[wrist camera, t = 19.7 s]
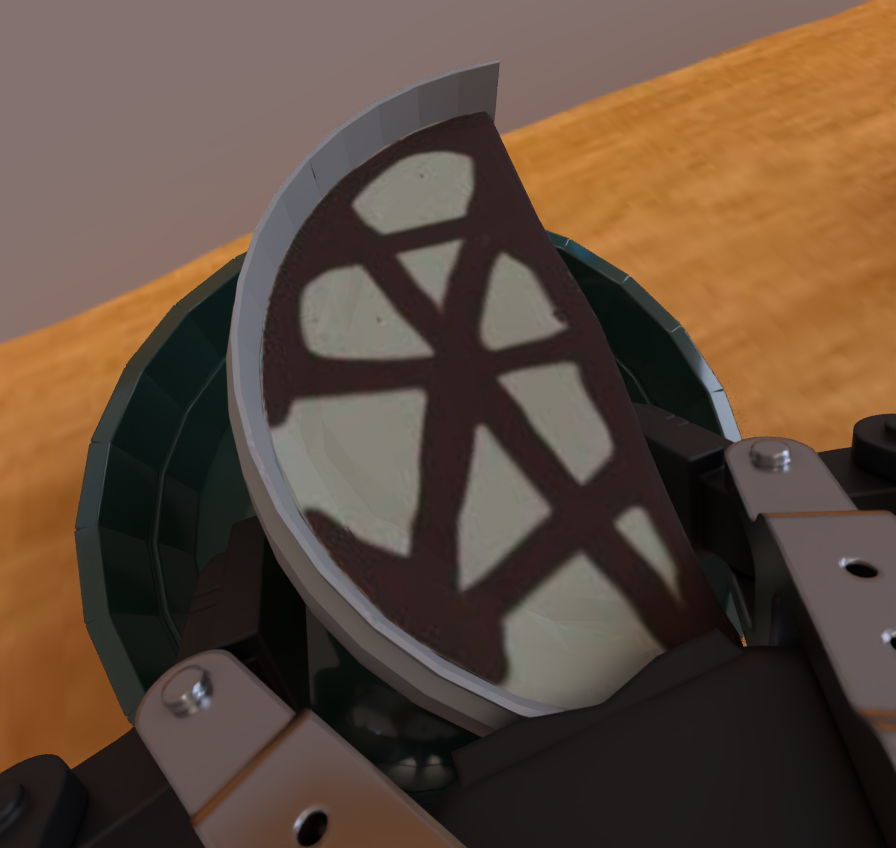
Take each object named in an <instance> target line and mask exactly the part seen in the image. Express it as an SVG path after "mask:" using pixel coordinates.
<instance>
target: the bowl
mask: <svg viewBox="0 0 896 848" xmlns="http://www.w3.org/2000/svg"><path fill="white" fill-rule="evenodd" d="M545 231H546V232H547V234H548V236H549V238H550V239H551V241H552V243H553V245H554V246H555V248H556V250H557V251H558V253H559V254H560V256H561V258H562V259H563V261H564V262H565V264H566V266H567V267H568V269H569V270H570V272H571V273H572V275H573V277H574V278H575V280H576V281H577V283H578V285H579V287H580V288H581V290H582V292H583V294H584V295H585V297H586V299H587V301H588V303H589V304H590V306H591V308H592V310H593V311H594V313H595V315H596V317H597V318H598V320H599V322H600V324H601V326H602V329H603V331H604V333H605V336H606V339H607V341H608V344H609V346H610V349H611V351H612V354H613V356H614V359H615V361H616V363H617V366H618V368H619V371H620V373H621V376H622V378H623V381H624V383H625V386H626V389H627V391H628V394H629V397H630V399H631V402H633V403H640V404H646V405H651V406H657V407H660V408H662V409H664V410H666V411H668V412H670V413H673V414H675V416H676V417H677V416H679V417H681V418H683V419H685V420H688V421H689V423H694V424H696V425H698V426H701V427H703V428H705V429H707V430H709V431H711V432H713V433H716V434H718V435H720V436H722V437H724V438H726V439H729V440H731V441H733V442H737V441H740V440H742V437H741V434H740V432H739V429H738V426H737V423H736V420H735V418H734V415H733V412H732V409H731V406H730V404H729V401H728V398H727V395H726V392H725V391H724V390H723V387H722V385H721V383H720V382H719V380H718V379H717V377H716V376H715V374H714V373H713V371H712V370H711V368H710V367H709V365H708V364H707V362H706V361H705V359H704V358H703V356H702V355H701V353H700V352H699V350H698V349H697V347H696V345H695V344H694V342H693V341H692V339H691V338H690V336H689V335H688V333H687V332H686V330H685V329H684V328H683V327H682V325H681V324H680V323H679V322H678V321H677V320H676V319H675V318H674V317H673V316H672V315H671V314H670V313H669V312H668V311H666V310H665V309H664V308H663V307H662V306H661V305H660V304H659V303H658V302H657V301H656V300H655V299H654V298H653V297H652V296H651V295H650V294H649V293H648V292H647V291H646V290H645V289H644V288H642V287H641V286H640V285H639V284H638V283H637V282H636V281H635V280H634V279H633V278H632V277H629V275H628V274H626V273H625V272H623V271H622V270H620V269H618V268H617V267H615V266H613V265H612V264H610V263H609V262H607V261H605V260H604V259H602V258H600V257H599V256H597V255H596V254H594V253H592V252H591V251H589V250H587V249H586V248H584V247H583V246H581V245H579V244H578V243H576V242H574V241H573V240H569V238H566V237H564V236H561V235H558V234H555V233H553V232H550V231H547V230H545ZM246 254H247V252H245V253H243V254H241V255H239V256H237V257H236V258H235V259H232V260H231V261H230V262H228V263H227V264H226V265H224V266H223V267H222V268H221V269H219V270H218V271H217V272H216V273H214V274H213V275H212V276H210V277H209V278H208V279H207V280H205V281H204V282H203V283H202V284H200V285H199V286H198V287H197V288H195V289H194V290H193V291H191V292H190V293H189V294H188V295H186V296H185V297H184V298H183V299H181V300H180V301H179V302H177V303H176V305H174V306H173V307H172V308H171V310H170V311H169V312H168V313H167V315H166V316H165V317H164V318H163V320H162V321H161V322H160V323H159V324H158V326H157V327H156V328H155V329H154V331H153V332H152V333H151V334H150V336H149V337H148V338H147V339H146V341H145V342H144V343H143V344H142V346H141V347H140V348H139V349H138V351H137V352H136V353H135V354H134V356H133V357H132V358H131V359H130V360H129V362H128V363H127V364H126V367H125V368H124V370H123V372H122V374H121V376H120V378H119V381H118V383H117V385H116V387H115V389H114V391H113V393H112V396H111V398H110V400H109V402H108V404H107V406H106V409H105V411H104V413H103V415H102V417H101V419H100V421H99V424H98V426H97V428H96V430H95V432H94V434H93V437H92V439H91V442H92V443H90V444H89V450H88V455H87V461H86V467H85V473H84V478H83V484H82V490H81V496H80V501H79V507H78V513H77V518H76V524H75V529H76V531H75V541H76V550H77V559H78V568H79V577H80V586H81V595H82V604H83V613H84V622H85V624H87V625H86V628H87V630H88V633H89V635H90V637H91V640H92V642H93V644H94V646H95V649H96V651H97V653H98V655H99V658H100V660H101V662H102V665H103V667H104V669H105V671H106V674H107V676H108V678H109V681H110V683H111V685H112V687H113V690H114V692H115V694H116V696H117V699H118V701H119V703H120V706H121V708H122V710H123V712H124V715H125V716H128V718H127V719H128V721H129V722H130V723H131V724H132V725H133V726H135V716H136V712H137V709H138V706H139V704H140V702H141V700H142V699H143V697H144V696H145V694H146V693H147V691H148V690H149V689H150V688H151V686H152V685H153V684H154V683H155V682H156V681H157V680H158V679H159V678H160V677H161V676H162V675H163V674H164V673H166V672H167V671H168V670H169V669H170V668H172V667H173V666H175V663H176V659H177V655H178V651H179V647H180V643H181V640H182V636H183V632H184V628H185V624H186V620H187V617H188V614H190V611H189V609H190V605H191V601H192V598H194V595H193V594H194V590H195V586H196V582H197V578H198V575H199V574H200V573H201V571H202V570H203V569H204V567H205V566H206V565H207V563H208V562H209V561H210V559H211V558H212V557H213V556H214V555H217V554H220V553H223V552H226V551H227V548H228V542H229V537H230V532H231V527H232V524H234V523H237V522H239V521H242V520H245V519H248V518H251V517H254V516H256V515H257V514H256V512H255V510H254V507H253V504H252V501H251V498H250V495H249V491H248V488H247V485H246V482H245V479H244V476H243V473H242V468H241V464H240V460H239V456H238V451H237V447H236V443H235V439H234V435H233V430H232V426H231V422H230V418H229V409H228V388H227V367H226V356H227V348H228V341H229V334H230V327H231V320H232V312H233V306H234V303H235V297H236V289H237V282H238V278H239V275H240V272H241V269H242V266H243V263H244V260H245V257H246ZM699 564H700V566H701V568H702V570H703V572H704V574H705V576H706V578H707V580H708V582H709V584H710V586H711V588H712V590H713V592H714V593H715V595H716V597H717V599H718V601H719V603H720V605H721V607H722V609H723V610H724V612H725V613H726V615H727V616H728V618H729V619H730V621H731V622H732V624H733V625H734V627H735V629H736V630H737V632H738V633H739V636H740V639H742V638H743V631H742V627H741V624H740V621H739V617H738V614H737V611H736V607H735V604H734V601H733V598H732V594H731V591H730V588H729V584H728V581H727V578H726V573H725V561H724V560H722V559H721V558H719V557H718V556H717V555H715V556H713V557H710V558H708V559H706V560H703V561H701V562H699ZM306 622H307V643H308V663H309V683H310V703H311V711H313V712H314V713H315V714H316V715H317V716H319V717H320V718H321V719H322V720H323V721H324V722H325V723H327V724H328V725H329V726H330V727H331V728H332V729H333V730H334V731H336V732H337V733H338V734H339V735H340V736H341V737H342V738H344V739H345V740H346V741H347V742H348V743H349V744H350V745H351V746H353V747H354V748H355V749H356V750H357V751H358V752H359V753H361V754H362V755H363V756H364V757H365V758H366V759H367V760H368V761H370V762H371V763H372V764H373V765H374V766H375V767H376V768H378V769H379V770H380V771H381V772H382V773H383V774H384V775H385V776H387V777H388V778H389V779H390V780H391V781H392V782H393V783H395V784H396V785H397V786H398V787H399V788H400V789H401V790H402V791H404V792H405V793H406V794H407V795H408V796H409V797H410V798H412V799H413V800H414V801H415V802H416V803H417V804H418V805H419V806H421V807H422V808H423V809H424V810H425V811H426V812H427V810H428V809H429V808H430V806H431V805H432V804H433V803H434V802H435V801H436V800H437V799H438V798H439V796H440V795H441V794H442V793H443V792H444V791H445V790H446V789H447V788H448V787H449V786H451V785H452V784H453V783H454V782H455V781H456V780H457V779H459V777H458V774H457V771H456V767H455V764H454V761H453V758H452V755H451V752H453V751H455V750H457V749H459V748H461V747H463V746H465V745H468V744H470V743H472V742H474V741H476V740H478V739H480V738H483V737H480V736H478V735H476V734H474V733H472V732H470V731H468V730H466V729H464V728H462V727H460V726H458V725H456V724H454V723H452V722H450V721H448V720H446V719H444V718H442V717H440V716H438V715H436V714H434V713H432V712H430V711H428V710H426V709H424V708H422V707H420V706H418V705H416V704H415V703H413V702H412V701H411V700H409V699H408V698H407V697H405V696H404V695H403V694H401V693H400V692H398V691H397V690H396V689H394V688H393V687H392V686H390V685H389V684H387V683H386V682H385V681H383V680H382V679H381V678H379V677H378V676H377V675H375V674H374V673H372V672H371V671H370V670H368V669H367V668H366V667H364V666H363V665H362V664H360V663H359V662H358V661H357V660H356V659H355V658H354V657H353V656H352V655H351V653H350V652H349V651H348V650H347V649H346V648H345V647H344V646H343V645H342V644H341V643H340V642H339V641H338V640H337V639H336V638H335V637H334V636H333V635H332V634H331V633H330V632H329V631H328V630H327V629H326V628H325V627H324V625H323V624H322V623H321V622H320V621H319V620H318V619H317V618H316V617H315V616H314V615H313V614H312V612H311V611H310V609H309V608H308V606H307V605H306Z"/></svg>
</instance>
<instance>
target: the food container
mask: <svg viewBox="0 0 896 848" xmlns="http://www.w3.org/2000/svg"><path fill="white" fill-rule="evenodd" d="M499 63H500V62H499V61H498V60H495V61H490V62H486V63H480V64H476V65H471V66H465V67H460V68H456V69H453V70H450V71H447V72H445V73H441V74H438V75H435V76H432V77H429V78H426V79H423V80H421V81H417V82H415V83H413V84H410V85H408V86H406V87H404V88H402V89H401V90H398V91H396V92H394V93H392V94H390V95H388V96H386V97H383V98H381V99H379V100H377V101H375V102H374V103H372V104H371V105H369V106H368V107H366V108H365V109H363V110H362V111H360V112H359V113H357V114H356V115H354V116H353V117H351V118H350V119H348V120H347V121H345V122H344V123H342V124H341V125H339V126H338V127H337V128H336V129H334V130H333V131H332V132H331V133H330V134H329V135H328V136H327V137H326V138H325V139H323V140H322V141H321V142H320V143H319V144H318V145H317V146H316V147H314V148H313V149H312V150H311V151H310V152H309V153H308V154H307V155H306V156H305V157H304V158H303V159H302V161H301V162H300V163H299V164H298V165H297V167H296V168H295V169H294V170H293V172H292V173H291V174H290V175H289V177H288V178H287V179H286V180H285V182H284V183H283V184H282V185H281V187H280V188H279V189H278V190H277V192H276V193H275V195H274V197H273V199H272V201H271V202H270V204H269V206H268V208H267V210H266V212H265V213H264V215H263V217H262V219H261V221H260V222H259V224H258V226H257V228H256V230H255V232H254V233H253V236H252V239H251V242H250V245H249V248H248V251H247V254H246V257H245V260H244V263H243V266H242V269H241V272H240V275H239V278H238V282H237V289H236V297H235V303H234V306H233V312H232V320H231V327H230V334H229V341H228V348H227V356H226V367H227V388H228V409H229V418H230V422H231V426H232V430H233V435H234V439H235V443H236V447H237V451H238V456H239V460H240V464H241V468H242V473H243V476H244V479H245V482H246V485H247V488H248V491H249V495H250V498H251V501H252V504H253V507H254V510H255V512H256V514H257V516H258V519H259V521H260V523H261V525H262V528H263V530H264V532H265V534H266V537H267V539H268V541H269V543H270V546H271V548H272V550H273V552H274V555H275V557H276V559H277V561H278V563H279V565H280V566H281V568H282V569H283V571H284V572H285V574H286V575H287V577H288V578H289V580H290V581H291V583H292V584H293V585H294V587H295V588H296V590H297V591H298V593H299V594H300V596H301V597H302V599H303V600H304V602H305V603H306V605H307V606H308V608H309V609H310V611H311V612H312V614H313V615H314V616H315V617H316V618H317V619H318V620H319V621H320V622H321V623H322V624H323V625H324V627H325V628H326V629H327V630H328V631H329V632H330V633H331V634H332V635H333V636H334V637H335V638H336V639H337V640H338V641H339V642H340V643H341V644H342V645H343V646H344V647H345V648H346V649H347V650H348V651H349V652H350V653H351V655H352V656H353V657H354V658H355V659H356V660H357V661H358V662H359V663H360V664H362V665H363V666H364V667H366V668H367V669H368V670H370V671H371V672H372V673H374V674H375V675H377V676H378V677H379V678H381V679H382V680H383V681H385V682H386V683H387V684H389V685H390V686H392V687H393V688H394V689H396V690H397V691H398V692H400V693H401V694H403V695H404V696H405V697H407V698H408V699H409V700H411V701H412V702H413V703H415V704H416V705H418V706H420V707H422V708H424V709H426V710H428V711H430V712H432V713H434V714H436V715H438V716H440V717H442V718H444V719H446V720H448V721H450V722H452V723H454V724H456V725H458V726H460V727H462V728H464V729H466V730H468V731H470V732H472V733H474V734H476V735H478V736H480V737H485V736H487V735H489V734H491V733H493V732H495V731H498V730H500V729H502V728H504V727H506V726H508V725H510V724H512V723H515V722H517V721H519V720H521V719H526V718H531V717H536V716H542V715H547V714H552V713H558V712H563V711H568V710H573V709H579V708H584V707H589V706H594V705H598V704H601V703H603V702H605V701H606V700H607V699H609V698H610V697H611V696H612V695H613V694H614V693H615V692H617V691H618V690H619V689H620V688H621V687H622V686H623V685H625V684H626V683H627V682H628V681H629V680H630V679H631V678H633V677H634V676H635V675H636V674H637V673H638V672H639V671H640V670H642V669H643V668H644V667H645V666H646V665H647V664H648V663H650V662H651V661H652V660H653V659H654V658H655V657H656V656H658V655H660V654H662V653H665V652H667V651H669V650H671V649H673V648H675V647H677V646H680V645H682V644H684V643H686V642H688V641H690V640H692V639H695V638H697V637H699V636H701V635H703V634H705V633H707V632H709V631H712V630H714V629H716V628H718V629H719V630H720V631H721V632H722V633H723V634H724V635H725V636H726V637H728V638H729V639H730V640H731V641H732V642H733V643H734V644H735V645H736V646H737V647H738V648H739V647H743V644H742V641H741V639H740V636H739V633H738V632H737V630H736V629H735V627H734V625H733V624H732V622H731V621H730V619H729V618H728V616H727V615H726V613H725V612H724V610H723V609H722V607H721V605H720V603H719V601H718V599H717V597H716V595H715V593H714V592H713V590H712V588H711V586H710V584H709V582H708V580H707V578H706V576H705V574H704V572H703V570H702V568H701V566H700V564H699V562H698V559H697V557H696V555H695V553H694V551H693V548H692V546H691V544H690V542H689V540H688V537H687V535H686V533H685V531H684V529H683V526H682V524H681V522H680V520H679V518H678V515H677V513H676V511H675V509H674V507H673V504H672V502H671V500H670V498H669V496H668V493H667V491H666V489H665V486H664V484H663V481H662V479H661V476H660V474H659V472H658V469H657V467H656V464H655V462H654V459H653V457H652V455H651V452H650V450H649V447H648V445H647V442H646V440H645V437H644V434H643V432H642V429H641V426H640V424H639V421H638V418H637V416H636V413H635V410H634V407H633V405H632V402H631V399H630V397H629V394H628V391H627V389H626V386H625V383H624V381H623V378H622V376H621V373H620V371H619V368H618V366H617V363H616V361H615V359H614V356H613V354H612V351H611V349H610V346H609V344H608V341H607V339H606V336H605V333H604V331H603V329H602V326H601V324H600V322H599V320H598V318H597V317H596V315H595V313H594V311H593V310H592V308H591V306H590V304H589V303H588V301H587V299H586V297H585V295H584V294H583V292H582V290H581V288H580V287H579V285H578V283H577V281H576V280H575V278H574V277H573V275H572V273H571V272H570V270H569V269H568V267H567V266H566V264H565V262H564V261H563V259H562V258H561V256H560V254H559V253H558V251H557V250H556V248H555V246H554V245H553V243H552V241H551V239H550V238H549V236H548V234H547V232H546V231H545V229H544V227H543V225H542V224H541V222H540V220H539V218H538V216H537V214H536V212H535V210H534V208H533V206H532V204H531V201H530V199H529V197H528V195H527V193H526V191H525V189H524V187H523V185H522V182H521V180H520V178H519V176H518V174H517V172H516V170H515V168H514V166H513V163H512V161H511V159H510V157H509V155H508V153H507V151H506V149H505V146H504V144H503V142H502V140H501V138H500V136H499V133H498V131H497V129H496V127H495V125H494V119H495V107H496V96H497V86H498V75H499Z"/></svg>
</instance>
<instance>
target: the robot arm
mask: <svg viewBox="0 0 896 848" xmlns="http://www.w3.org/2000/svg"><path fill="white" fill-rule="evenodd" d="M632 405H633V407H634V410H635V413H636V416H637V418H638V421H639V424H640V426H641V429H642V432H643V434H644V437H645V440H646V442H647V445H648V447H649V450H650V452H651V455H652V457H653V459H654V462H655V464H656V467H657V469H658V472H659V474H660V476H661V479H662V481H663V484H664V486H665V489H666V491H667V493H668V496H669V498H670V500H671V502H672V504H673V507H674V509H675V511H676V513H677V515H678V518H679V520H680V522H681V524H682V526H683V529H684V531H685V533H686V535H687V537H688V540H689V542H690V544H691V546H692V548H693V551H694V553H695V555H696V557H697V559H698V562H701V561H703V560H706V559H708V558H710V557H713V556H715V555H717V556H718V557H719V558H721V559H722V560H724V561H725V573H726V578H727V581H728V584H729V588H730V591H731V594H732V598H733V601H734V604H735V607H736V611H737V614H738V617H739V621H740V624H741V627H742V631H743V634H744V637H745V640H746V644H747V647H739V648H738V647H737V646H736V645H735V644H734V643H733V642H732V641H731V640H730V639H729V638H728V637H726V636H725V635H724V634H723V633H722V632H721V631H720V630H719V629H718V628H716V629H714V630H712V631H709V632H707V633H705V634H703V635H701V636H699V637H697V638H695V639H692V640H690V641H688V642H686V643H684V644H682V645H680V646H677V647H675V648H673V649H671V650H669V651H667V652H665V653H662V654H660V655H658V656H656V657H655V658H654V659H653V660H652V661H651V662H650V663H648V664H647V665H646V666H645V667H644V668H643V669H642V670H640V671H639V672H638V673H637V674H636V675H635V676H634V677H633V678H631V679H630V680H629V681H628V682H627V683H626V684H625V685H623V686H622V687H621V688H620V689H619V690H618V691H617V692H615V693H614V694H613V695H612V696H611V697H610V698H609V699H607V700H606V701H605V702H603V703H601V704H598V705H594V706H589V707H584V708H579V709H573V710H568V711H563V712H558V713H552V714H547V715H542V716H536V717H531V718H526V719H521V720H519V721H517V722H515V723H512V724H510V725H508V726H506V727H504V728H502V729H500V730H498V731H495V732H493V733H491V734H489V735H487V736H485V737H483V738H480V739H478V740H476V741H474V742H472V743H470V744H468V745H465V746H463V747H461V748H459V749H457V750H455V751H453V752H451V755H452V758H453V761H454V764H455V767H456V771H457V774H458V777H459V779H457V780H456V781H455V782H454V783H453V784H452V785H451V786H449V787H448V788H447V789H446V790H445V791H444V792H443V793H442V794H441V795H440V796H439V798H438V799H437V800H436V801H435V802H434V803H433V804H432V805H431V806H430V808H429V809H428V810H427V812H426V811H425V810H424V809H423V808H422V807H421V806H419V805H418V804H417V803H416V802H415V801H414V800H413V799H412V798H410V797H409V796H408V795H407V794H406V793H405V792H404V791H402V790H401V789H400V788H399V787H398V786H397V785H396V784H395V783H393V782H392V781H391V780H390V779H389V778H388V777H387V776H385V775H384V774H383V773H382V772H381V771H380V770H379V769H378V768H376V767H375V766H374V765H373V764H372V763H371V762H370V761H368V760H367V759H366V758H365V757H364V756H363V755H362V754H361V753H359V752H358V751H357V750H356V749H355V748H354V747H353V746H351V745H350V744H349V743H348V742H347V741H346V740H345V739H344V738H342V737H341V736H340V735H339V734H338V733H337V732H336V731H334V730H333V729H332V728H331V727H330V726H329V725H328V724H327V723H325V722H324V721H323V720H322V719H321V718H320V717H319V716H317V715H316V714H315V713H314V712H313V711H311V703H310V683H309V663H308V643H307V622H306V603H305V602H304V600H303V599H302V597H301V596H300V594H299V593H298V591H297V590H296V588H295V587H294V585H293V584H292V583H291V581H290V580H289V578H288V577H287V575H286V574H285V572H284V571H283V569H282V568H281V566H280V565H279V563H278V561H277V559H276V557H275V555H274V552H273V550H272V548H271V546H270V543H269V541H268V539H267V537H266V534H265V532H264V530H263V528H262V525H261V523H260V521H259V519H258V516H257V515H256V516H254V517H251V518H248V519H245V520H242V521H239V522H237V523H234V524H232V527H231V532H230V537H229V542H228V548H227V551H226V552H223V553H220V554H217V555H214V556H213V557H212V558H211V559H210V561H209V562H208V563H207V565H206V566H205V567H204V569H203V570H202V571H201V573H200V574H199V575H198V578H197V582H196V586H195V590H194V594H193V595H194V598H192V601H191V605H190V609H189V611H190V614H188V617H187V620H186V624H185V628H184V632H183V636H182V640H181V643H180V647H179V651H178V655H177V659H176V663H175V666H173V667H172V668H170V669H169V670H168V671H167V672H166V673H164V674H163V675H162V676H161V677H160V678H159V679H158V680H157V681H156V682H155V683H154V684H153V685H152V686H151V688H150V689H149V690H148V691H147V693H146V694H145V696H144V697H143V699H142V700H141V702H140V704H139V706H138V709H137V712H136V716H135V726H134V727H133V728H132V729H131V730H130V731H128V732H127V733H126V734H124V735H123V736H122V737H120V738H119V739H117V740H116V741H114V742H113V743H111V744H110V745H108V746H107V747H105V748H104V749H102V750H100V751H99V752H97V753H96V754H94V755H93V756H91V757H90V758H88V759H87V760H85V761H84V762H82V763H81V764H79V765H78V766H76V767H74V768H73V769H70V768H69V766H68V765H67V764H66V763H65V762H64V761H63V760H62V759H61V758H60V757H59V756H56V755H53V754H44V755H38V756H35V757H32V758H29V759H26V760H24V761H22V762H20V763H18V764H16V765H14V766H12V767H10V768H9V769H7V770H5V771H4V772H2V773H1V774H0V848H896V414H881V415H875V416H870V417H867V418H864V419H862V420H860V421H858V422H857V423H856V424H855V426H854V429H853V438H852V447H848V448H842V449H836V450H830V451H824V452H818V453H816V452H815V451H814V450H813V449H812V448H811V447H809V446H807V445H805V444H803V443H801V442H798V441H795V440H791V439H787V438H781V437H753V438H747V439H743V440H740V441H737V442H733V441H731V440H729V439H726V438H724V437H722V436H720V435H718V434H716V433H713V432H711V431H709V430H707V429H705V428H703V427H701V426H698V425H696V424H694V423H689V421H688V420H685V419H683V418H681V417H679V416H677V417H676V416H675V414H673V413H670V412H668V411H666V410H664V409H662V408H660V407H657V406H651V405H646V404H640V403H633V402H632Z"/></svg>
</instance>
